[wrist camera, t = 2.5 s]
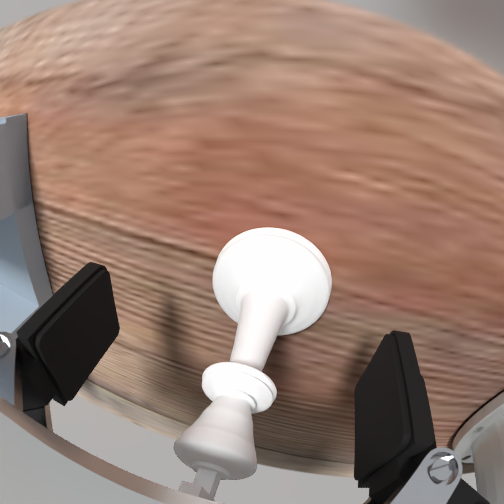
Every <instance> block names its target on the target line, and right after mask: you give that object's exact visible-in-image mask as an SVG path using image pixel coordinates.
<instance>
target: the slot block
mask: <svg viewBox="0 0 504 504" xmlns="http://www.w3.org/2000/svg"><path fill="white" fill-rule="evenodd" d="M52 296H53V293H52V289H51V286H50V282H49V278H48V275H47V271H46V267H45V263H44V258H43V254H42V250H41V245H40V240H39V235H38V230H37V224H36V219H35V213H34V206H33V199H32V191H31V183H30V173H29V161H28V145H27V113H25V114H18V115H12V116H6V117H0V332H8V333H11V334H12V335H13V336H14V338H15V340H16V339H17V337H18V335H17V333H16V332H17V331H18V330H19V329H20V328H21V327H22V326H23V324H24V323H25V322H26V321H27V320H28V319H29V318H30V317H31V316H32V315H33V314H34V313H35V312H36V311H37V310H38V309H39V308H40V307H41V306H42V305H43V304H44V303H45V302H46V301H48V300H49V299H50V298H51V297H52Z"/></svg>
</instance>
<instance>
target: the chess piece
mask: <svg viewBox="0 0 504 504" xmlns="http://www.w3.org/2000/svg"><path fill="white" fill-rule="evenodd" d="M331 287H332V278H331V272H330V268H329V266H328V263H327V261H326V259H325V258H324V256H323V255H322V253H321V252H320V251H319V250H318V249H317V247H315V246H314V245H313V244H312V243H311V242H310V241H308V240H307V239H305V238H304V237H302V236H300V235H298V234H296V233H294V232H291V231H288V230H284V229H279V228H257V229H252V230H248V231H246V232H243V233H241V234H239V235H237V236H236V237H234V238H233V239H231V240H230V241H229V242H228V243H227V244H226V245H225V246H224V248H223V249H222V251H221V252H220V254H219V256H218V259H217V262H216V265H215V268H214V271H213V289H214V293H215V296H216V298H217V301H218V302H219V304H220V306H221V307H222V309H223V310H224V311H225V312H226V314H227V315H228V316H229V317H230V318H232V319H233V320H234V321H235V322H237V323H238V326H237V332H236V337H235V341H234V346H233V350H232V354H231V357H230V362H221V363H216V364H213V365H211V366H209V367H208V368H206V370H205V371H204V373H203V375H202V388H203V391H204V392H205V394H206V395H207V397H208V398H209V399H210V400H212V401H213V402H212V403H211V404H210V405H209V406H208V407H207V408H206V409H205V410H204V411H203V412H202V414H201V415H200V417H199V418H198V419H197V420H196V421H195V422H194V423H193V424H192V425H191V426H190V427H189V428H187V429H186V430H185V431H184V432H183V433H182V434H181V435H180V437H179V438H178V439H177V440H176V442H175V444H174V451H175V453H176V455H177V457H178V458H179V459H180V460H181V461H182V462H183V463H184V464H186V465H187V466H189V467H190V468H192V469H193V470H194V471H195V472H197V474H196V477H195V479H194V482H193V484H192V483H188V482H185V481H182V483H181V485H180V488H179V490H178V491H180V492H183V493H186V494H190V495H193V496H196V497H200V498H203V499H207V500H211V501H214V496H215V493H216V490H217V488H218V485H219V482H220V480H226V479H228V480H237V479H244V478H247V477H249V476H251V475H253V474H254V473H255V471H256V468H257V457H256V450H255V446H254V438H253V421H252V415H251V413H258V412H262V411H264V410H266V409H268V408H269V407H270V406H271V404H272V402H273V401H274V400H275V398H276V395H277V390H276V386H275V384H274V383H273V381H272V380H271V379H270V378H269V377H268V376H267V375H266V374H264V373H263V372H262V371H263V368H264V366H265V363H266V361H267V358H268V356H269V353H270V351H271V349H272V346H273V344H274V342H275V340H276V337H277V335H287V334H292V333H296V332H299V331H301V330H303V329H305V328H307V327H309V326H310V325H312V324H313V323H314V322H315V321H316V320H317V319H318V318H319V317H320V316H321V315H322V313H323V312H324V310H325V308H326V306H327V304H328V300H329V296H330V293H331Z"/></svg>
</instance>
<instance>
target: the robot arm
mask: <svg viewBox="0 0 504 504" xmlns="http://www.w3.org/2000/svg"><path fill="white" fill-rule="evenodd" d="M119 329H120V327H119V322H118V317H117V312H116V307H115V302H114V297H113V291H112V285H111V279H110V274H109V272H108V271H107V269H106V267H105V266H103V265H100V264H96V263H93V262H89V263H88V264H87V265H85V266H84V267H83V268H82V269H81V270H80V271H79V272H78V273H76V274H75V275H74V276H73V277H72V278H71V279H70V280H69V281H68V282H67V283H65V284H64V285H63V286H62V287H61V288H60V289H59V290H58V291H57V292H56V293H55V294H54V295H53V296H52V297H51V298H50V299H49V300H48V301H46V302H45V303H44V304H43V305H42V306H41V307H40V308H39V309H38V310H37V311H36V312H35V313H34V314H33V315H32V316H31V317H30V318H29V319H28V320H27V321H26V322H25V323H24V324H23V326H22V327H21V328H20V329H19V330H18V331H17V332H16V333H17V335H18V337H17V339H16V340H15V338H14V336H13V335H12V334H11V333H8V332H0V504H223V503H218V502H215V501H211V500H207V499H203V498H200V497H196V496H193V495H190V494H186V493H183V492H180V491H177V490H174V489H171V488H168V487H165V486H163V485H160V484H157V483H154V482H152V481H149V480H147V479H144V478H142V477H139V476H137V475H134V474H132V473H129V472H127V471H125V470H123V469H121V468H118V467H116V466H114V465H112V464H110V463H108V462H106V461H104V460H102V459H100V458H97V457H96V456H94V455H91V454H90V453H88V452H86V451H84V450H82V449H80V448H79V447H77V446H75V445H73V444H72V443H70V442H68V441H67V440H64V439H63V438H62V437H60V436H58V435H57V434H55V433H53V429H52V422H51V414H50V406H49V402H50V401H51V399H52V398H53V399H54V400H55V401H57V402H58V403H60V404H62V405H63V406H65V405H66V403H67V401H71V400H72V399H73V398H74V397H75V395H76V394H77V392H78V391H79V389H80V388H81V387H82V385H83V384H84V382H85V381H86V379H87V378H88V376H89V375H90V374H91V372H92V371H93V369H94V368H95V366H96V365H97V364H98V362H99V361H100V359H101V358H102V357H103V355H104V354H105V352H106V351H107V350H108V348H109V347H110V345H111V344H112V343H113V341H114V340H115V339H116V337H117V336H118V333H119ZM452 446H453V450H451V449H449V448H444V447H440V448H436V441H435V434H434V428H433V422H432V417H431V411H430V406H429V401H428V396H427V391H426V387H425V382H424V379H423V377H422V376H421V374H420V370H419V366H418V362H417V358H416V354H415V350H414V346H413V342H412V339H411V336H410V334H409V333H406V332H400V331H392V332H391V333H390V334H386V335H385V336H384V338H383V340H382V341H381V343H380V345H379V347H378V349H377V351H376V352H375V354H374V356H373V358H372V359H371V361H370V363H369V365H368V366H367V368H366V370H365V371H364V373H363V375H362V376H361V378H360V380H359V381H358V383H357V385H356V388H355V462H354V478H355V480H358V488H369V498H368V499H367V501H366V502H365V503H364V504H504V392H502V393H501V394H500V395H498V396H497V397H496V398H494V399H493V400H491V401H490V402H489V403H488V404H486V405H485V406H484V407H483V408H482V409H480V410H479V411H478V412H477V413H476V414H475V415H473V416H472V417H471V418H470V419H469V420H468V421H467V422H466V423H465V424H464V426H463V427H462V428H461V429H460V430H459V432H458V433H457V435H456V436H455V438H454V441H453V444H452ZM461 462H464V463H474V469H475V477H476V485H477V491H476V490H474V489H473V488H472V487H471V486H469V485H468V484H467V483H466V482H465V481H464V480H462V479H461V476H462V468H463V467H462V463H461Z"/></svg>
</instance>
